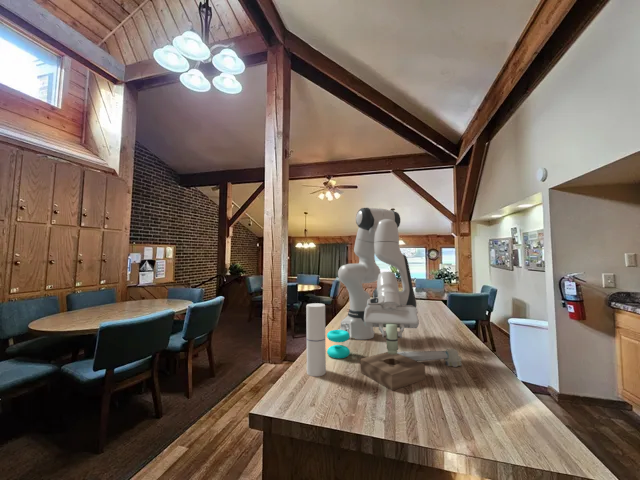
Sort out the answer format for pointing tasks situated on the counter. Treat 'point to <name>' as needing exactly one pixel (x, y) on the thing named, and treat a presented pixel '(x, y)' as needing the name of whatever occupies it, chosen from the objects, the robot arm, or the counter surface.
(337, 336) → the donuts
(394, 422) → the counter surface
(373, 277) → the robot arm
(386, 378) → the socket block
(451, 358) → the white handheld wand
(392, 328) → the peg
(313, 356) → the cylindrical container
